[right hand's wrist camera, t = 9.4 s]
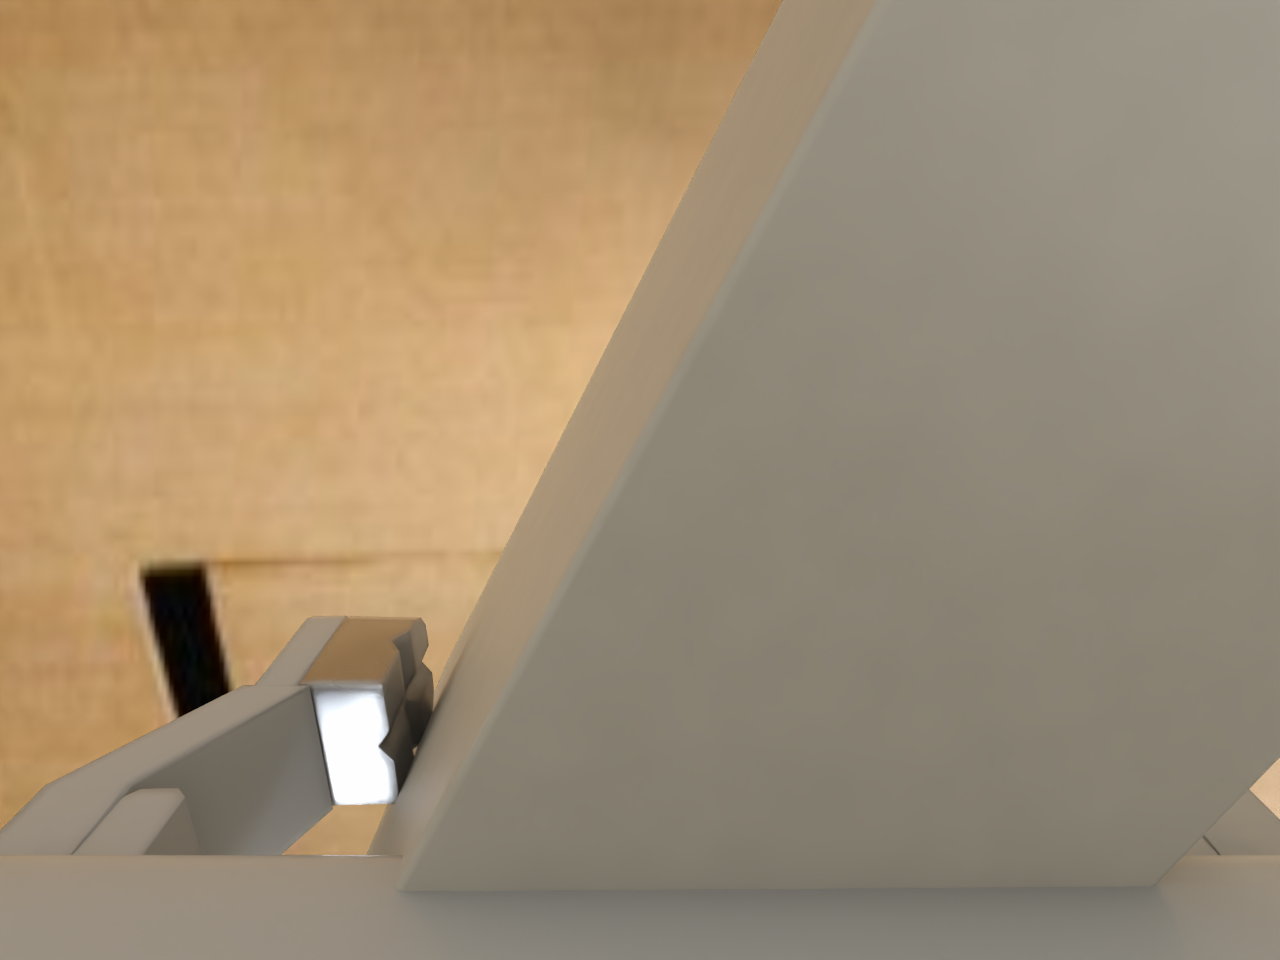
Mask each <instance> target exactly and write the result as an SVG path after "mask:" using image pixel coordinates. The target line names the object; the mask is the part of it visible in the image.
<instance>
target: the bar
mask: <svg viewBox="0 0 1280 960" xmlns="http://www.w3.org/2000/svg"><path fill="white" fill-rule="evenodd" d="M413 753H414V759H413V761H412V764H411V766H410V769H409V771H408V773H407V776H406V778H405V781H404V783H403V786H402V788H401V791H400V793H399V795H398V797H397V799H396V801H395V803H394V804H388V805H387V807H386V809H385V812H384V814H383V817H382V819H381V821H380V824H379V826H378V829H377V831H376V833H375V836H374V838H373V841H372V843H371V845H370V848H369V850H368V853H367V855H403V860H402V863H401V867H400V870H399V873H398V876H397V879H396V882H395V886H396V889H397V890H401V891H404V892H432V891H577V890H722V889H866V888H1009V887H1150V886H1153V885H1155V884H1157V883H1158V882H1159V881H1160V880H1161V879H1162V878H1163V877H1164V876H1165V875H1166V874H1167V872H1168V871H1169V870H1170V869H1171V868H1172V867H1173V866H1174V865H1175V864H1176V863H1177V862H1178V861H1179V860H1180V859H1181V858H1182V857H1183V856H1184V855H1185V854H1186V853H1187V852H1188V851H1189V850H1190V849H1191V848H1192V847H1193V846H1194V845H1195V844H1196V843H1197V842H1198V841H1199V840H1200V839H1201V838H1202V837H1203V836H1204V835H1205V833H1206V832H1207V831H1208V830H1209V829H1210V828H1211V827H1212V826H1213V825H1214V824H1215V823H1216V822H1217V821H1218V820H1219V819H1220V818H1221V817H1222V816H1223V815H1224V814H1225V813H1226V812H1227V811H1228V810H1229V809H1230V808H1231V807H1232V806H1233V805H1234V804H1235V803H1236V802H1237V801H1238V800H1239V799H1240V798H1241V797H1242V796H1243V794H1244V793H1245V792H1246V791H1247V790H1248V789H1249V788H1250V787H1251V786H1252V785H1253V784H1254V783H1255V782H1256V781H1257V780H1258V779H1259V778H1260V777H1261V776H1262V775H1263V774H1264V773H1265V772H1266V771H1267V770H1268V769H1269V768H1270V767H1271V766H1272V765H1273V764H1274V763H1275V762H1276V761H1277V760H1278V759H1279V758H1280V0H783V1H782V3H781V5H780V7H779V9H778V11H777V13H776V15H775V17H774V19H773V21H772V22H771V24H770V26H769V28H768V30H767V32H766V34H765V36H764V38H763V40H762V42H761V44H760V46H759V48H758V50H757V52H756V54H755V56H754V58H753V60H752V62H751V64H750V66H749V68H748V70H747V72H746V74H745V76H744V78H743V80H742V82H741V84H740V86H739V88H738V89H737V91H736V93H735V95H734V97H733V99H732V101H731V103H730V105H729V107H728V109H727V111H726V113H725V115H724V117H723V119H722V121H721V123H720V125H719V127H718V129H717V131H716V133H715V135H714V137H713V139H712V141H711V143H710V145H709V147H708V149H707V151H706V153H705V155H704V157H703V158H702V160H701V162H700V164H699V166H698V168H697V170H696V172H695V174H694V176H693V178H692V180H691V182H690V184H689V186H688V188H687V190H686V192H685V194H684V196H683V198H682V200H681V202H680V204H679V206H678V208H677V210H676V212H675V214H674V216H673V218H672V220H671V222H670V224H669V225H668V227H667V229H666V231H665V233H664V235H663V237H662V239H661V241H660V243H659V245H658V247H657V249H656V251H655V253H654V255H653V257H652V259H651V261H650V263H649V265H648V267H647V269H646V271H645V273H644V275H643V277H642V279H641V281H640V283H639V285H638V287H637V289H636V291H635V292H634V294H633V296H632V298H631V300H630V302H629V304H628V306H627V308H626V310H625V312H624V314H623V316H622V318H621V320H620V322H619V324H618V326H617V328H616V330H615V332H614V334H613V336H612V338H611V340H610V342H609V344H608V346H607V348H606V350H605V352H604V354H603V356H602V358H601V360H600V361H599V363H598V365H597V367H596V369H595V371H594V373H593V375H592V377H591V379H590V381H589V383H588V385H587V387H586V389H585V391H584V393H583V395H582V397H581V399H580V401H579V403H578V405H577V407H576V409H575V411H574V413H573V415H572V417H571V419H570V421H569V423H568V425H567V427H566V428H565V430H564V432H563V434H562V436H561V438H560V440H559V442H558V444H557V446H556V448H555V450H554V452H553V454H552V456H551V458H550V460H549V462H548V464H547V466H546V468H545V470H544V472H543V474H542V476H541V478H540V480H539V482H538V484H537V486H536V488H535V490H534V492H533V494H532V495H531V497H530V499H529V501H528V503H527V505H526V507H525V509H524V511H523V513H522V515H521V517H520V519H519V521H518V523H517V525H516V527H515V529H514V531H513V533H512V535H511V537H510V539H509V541H508V543H507V545H506V547H505V549H504V551H503V553H502V555H501V557H500V559H499V561H498V563H497V564H496V566H495V568H494V570H493V572H492V574H491V576H490V578H489V580H488V582H487V584H486V586H485V588H484V590H483V592H482V594H481V596H480V598H479V600H478V602H477V604H476V606H475V608H474V610H473V612H472V614H471V616H470V618H469V620H468V622H467V624H466V626H465V628H464V630H463V631H462V633H461V635H460V637H459V639H458V641H457V643H456V645H455V647H454V649H453V651H452V653H451V655H450V657H449V659H448V661H447V663H446V666H445V668H444V670H443V673H442V675H441V678H440V680H439V682H438V685H437V687H436V690H435V692H434V703H433V711H432V714H431V717H430V719H429V722H428V724H427V727H426V729H425V732H424V734H423V736H422V738H421V740H420V743H419V745H418V746H417V747H416V748H414V749H413Z"/></svg>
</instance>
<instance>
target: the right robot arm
mask: <svg viewBox="0 0 1280 960" xmlns="http://www.w3.org/2000/svg"><path fill="white" fill-rule="evenodd" d="M428 645H429V644H428V638H427V632H426V625H425V623H424V622H423V620H422V619H421V618H407V617H357V616H351V617H347V616H315V617H311V618H307V619H306V620H305V622H304V623H303V624H302V626H301V627H300V628H299V629H298V631H297V632H296V633H295V635H294V636H293V637H292V638H291V640H290V641H289V642H288V643H287V645H286V646H285V647H284V649H283V650H282V651H281V652H280V654H279V655H278V656H277V658H276V659H275V660H274V661H273V663H272V664H271V665H270V667H269V668H268V669H267V670H266V672H265V673H264V674H263V676H262V677H261V678H260V679H259V681H258V682H257V683H256V685H243V686H241V687H239V688H237V689H235V690H233V691H231V692H229V693H227V694H225V695H223V696H221V697H219V698H217V699H215V700H213V701H211V702H209V703H207V704H205V705H203V706H201V707H199V708H198V709H196V710H194V711H192V712H190V713H188V714H186V715H184V716H182V717H180V718H178V719H176V720H174V721H172V722H170V723H168V724H166V725H164V726H162V727H160V728H158V729H156V730H154V731H152V732H150V733H148V734H146V735H144V736H142V737H140V738H138V739H136V740H134V741H132V742H130V743H128V744H126V745H124V746H122V747H120V748H118V749H116V750H114V751H112V752H110V753H108V754H106V755H104V756H102V757H100V758H98V759H96V760H94V761H92V762H90V763H89V764H87V765H85V766H83V767H81V768H79V769H77V770H75V771H73V772H71V773H69V774H67V775H65V776H63V777H61V778H59V779H57V780H55V781H53V782H51V783H49V784H47V785H45V786H44V787H43V788H42V789H41V790H40V791H39V792H38V793H37V794H36V795H35V796H34V797H33V798H32V799H31V800H30V801H29V802H28V803H27V804H26V805H25V806H24V807H23V808H22V809H21V810H20V811H19V812H18V813H17V814H16V815H15V816H14V817H13V818H12V819H11V820H10V821H9V822H8V823H7V824H6V825H5V826H4V827H3V828H2V829H1V830H0V960H1280V819H1279V818H1278V817H1277V816H1276V815H1275V814H1274V813H1272V812H1271V811H1270V810H1269V809H1268V808H1267V807H1266V806H1265V805H1264V804H1263V803H1262V802H1261V801H1260V800H1259V799H1258V798H1257V797H1256V796H1255V795H1254V794H1253V793H1252V792H1251V791H1250V790H1249V789H1248V790H1247V791H1246V792H1245V793H1244V794H1243V796H1242V797H1241V798H1240V799H1239V800H1238V801H1237V802H1236V803H1235V804H1234V805H1233V806H1232V807H1231V808H1230V809H1229V810H1228V811H1227V812H1226V813H1225V814H1224V815H1223V816H1222V817H1221V818H1220V819H1219V820H1218V821H1217V822H1216V823H1215V824H1214V825H1213V826H1212V827H1211V828H1210V829H1209V830H1208V831H1207V832H1206V833H1205V835H1204V836H1203V837H1202V838H1201V839H1200V840H1199V841H1198V842H1197V843H1196V844H1195V845H1194V846H1193V847H1192V848H1191V849H1190V850H1189V851H1188V852H1187V853H1186V854H1185V855H1184V856H1183V857H1182V858H1181V859H1180V860H1179V861H1178V862H1177V863H1176V864H1175V865H1174V866H1173V867H1172V868H1171V869H1170V870H1169V871H1168V872H1167V874H1166V875H1165V876H1164V877H1163V878H1162V879H1161V880H1160V881H1159V882H1158V883H1157V884H1155V885H1153V886H1150V887H1009V888H866V889H722V890H577V891H432V892H404V891H401V890H397V889H396V886H395V882H396V879H397V876H398V873H399V870H400V867H401V863H402V860H403V855H281V854H282V853H283V852H284V851H286V850H287V849H288V848H289V847H290V846H291V845H292V844H294V843H295V842H296V841H297V840H298V839H299V838H300V837H301V836H303V835H304V834H305V833H306V832H307V831H308V830H309V829H311V828H312V827H313V826H314V825H315V824H316V823H317V822H318V821H320V820H321V819H322V818H323V817H324V816H325V815H326V814H328V813H329V812H330V811H331V810H332V809H333V807H332V805H361V804H394V803H395V801H396V799H397V797H398V795H399V793H400V791H401V788H402V786H403V783H404V781H405V778H406V776H407V773H408V771H409V769H410V766H411V764H412V761H413V759H414V753H413V749H414V748H416V747H417V746H418V745H419V743H420V740H421V738H422V736H423V734H424V732H425V729H426V727H427V724H428V722H429V719H430V717H431V714H432V711H433V703H434V687H433V678H432V672H431V671H430V670H429V669H428V668H427V667H426V666H425V665H424V664H423V662H422V659H423V657H424V654H425V652H426V650H427V648H428Z"/></svg>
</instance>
